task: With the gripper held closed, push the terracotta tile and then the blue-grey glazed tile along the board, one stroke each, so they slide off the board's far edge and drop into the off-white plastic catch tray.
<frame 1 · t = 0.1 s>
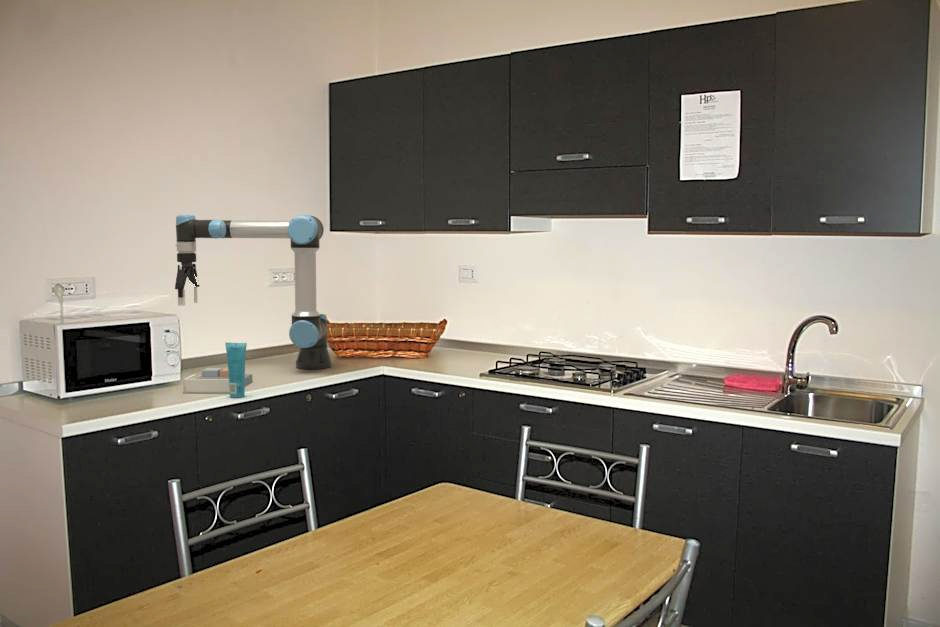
hand: (187, 304, 336), 28 cm above the table, fingers open, 13 cm apart
tray: (213, 390, 297), on the table
tile b: (212, 375, 310), point 3 cm above the table, touching board
tile a: (230, 375, 310), point 3 cm above the table, touching board
tube: (237, 397, 286), on the table
board: (223, 384, 309), on the table
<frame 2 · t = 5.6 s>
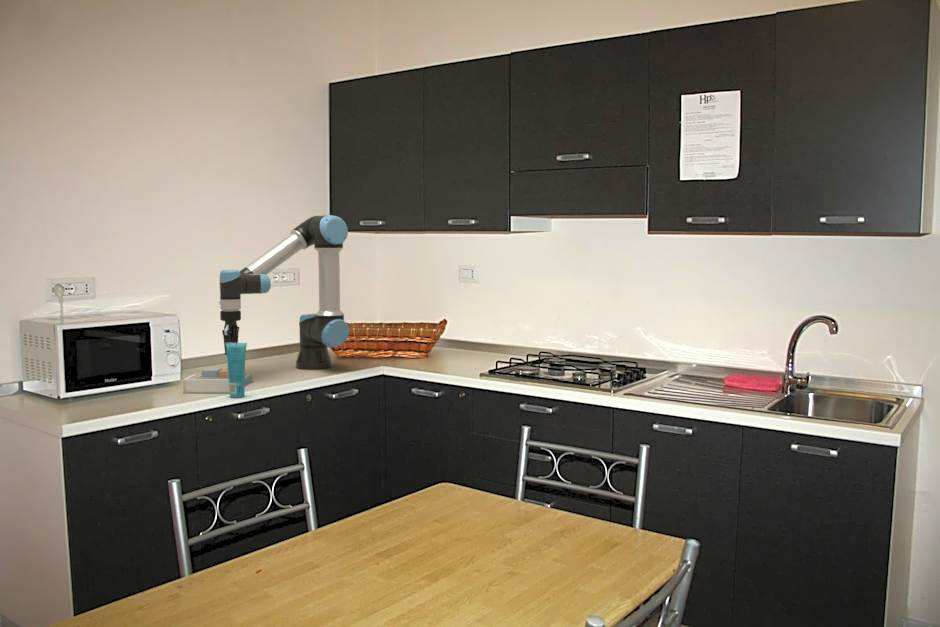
hand: (231, 371, 312), 4 cm above the table, fingers closed
tile a: (229, 376, 309), point 3 cm above the table, touching gripper
everything else where it was.
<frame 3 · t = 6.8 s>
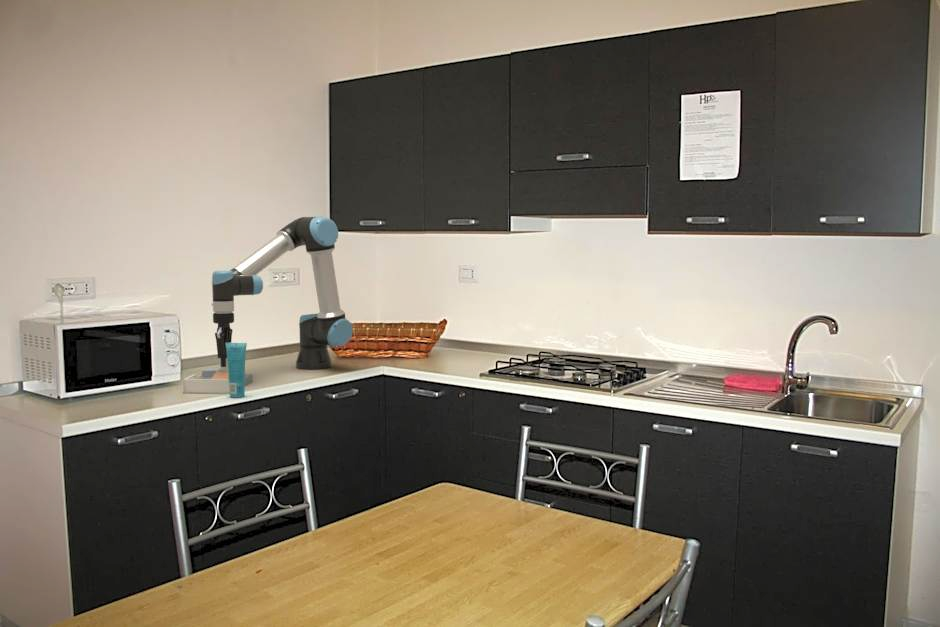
hand: (224, 375, 304), 4 cm above the table, fingers closed
tile a: (222, 381, 301), point 3 cm above the table, tilted 17°
everything else where it was.
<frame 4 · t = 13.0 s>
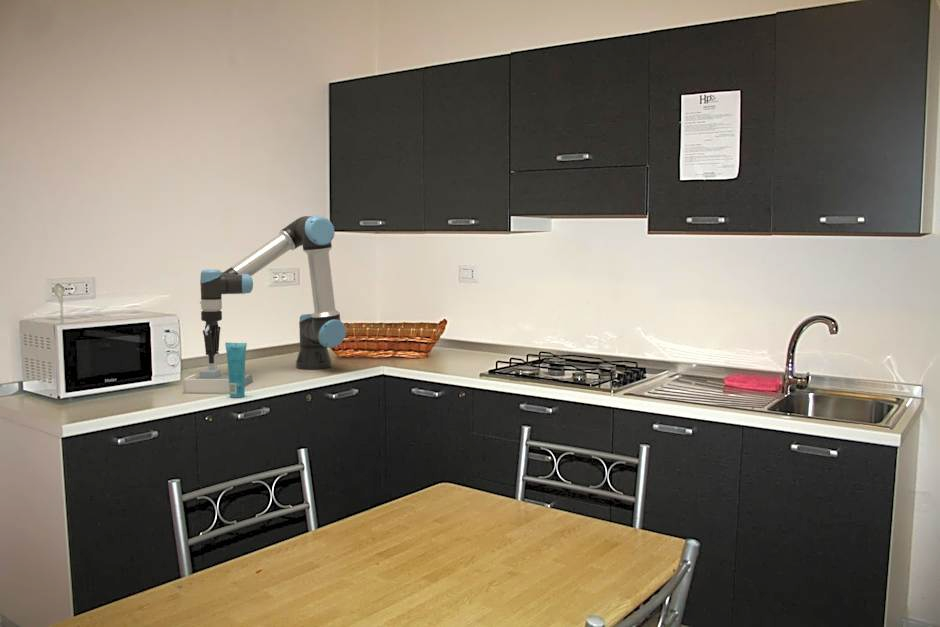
hand: (212, 371, 311), 4 cm above the table, fingers closed
tile b: (210, 376, 308), point 3 cm above the table
tile a: (220, 388, 298), resting on tray
everything else where it was.
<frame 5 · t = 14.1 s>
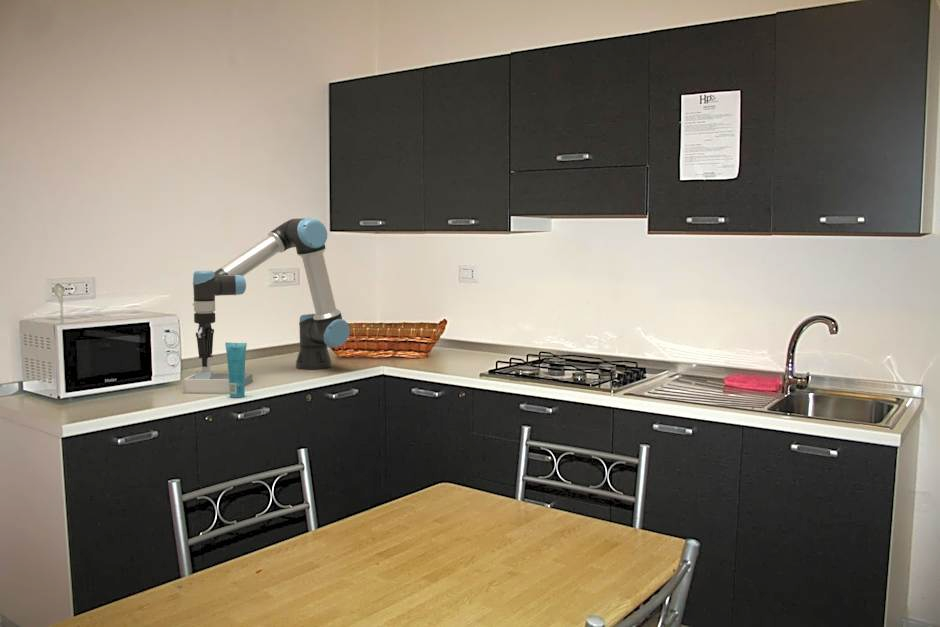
hand: (206, 374, 304), 4 cm above the table, fingers closed
tile b: (203, 381, 301), point 2 cm above the table, tilted 37°, touching gripper
everything else where it was.
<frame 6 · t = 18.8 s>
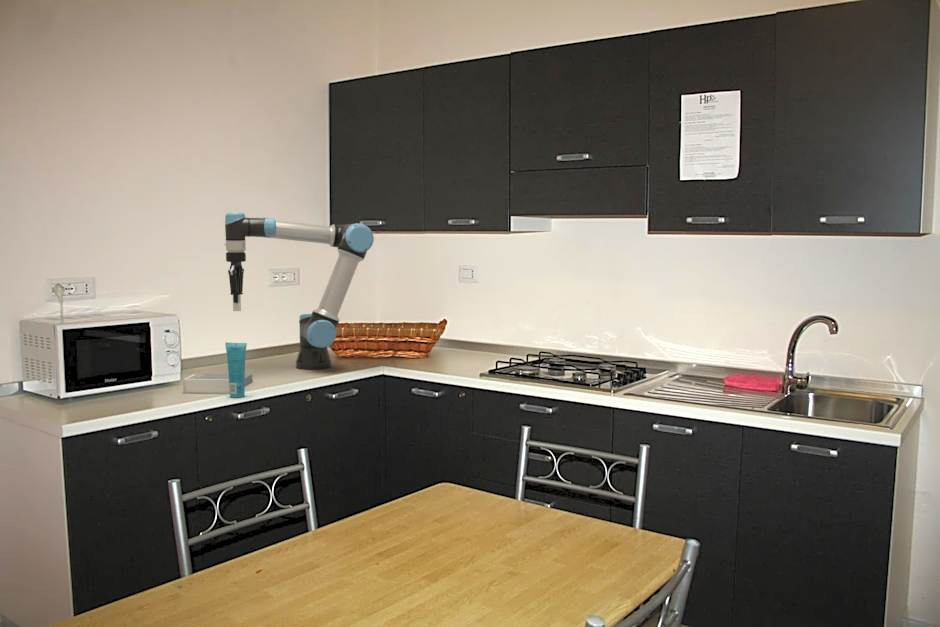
hand: (237, 310, 324), 26 cm above the table, fingers closed
tile b: (201, 388, 299), resting on tray
everything else where it was.
at the end: tile a inside the target area on the tray (2.6 cm from its centre), point 0.5 cm above the tray's base; tile b inside the target area on the tray (5.2 cm from its centre), point 0.5 cm above the tray's base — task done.
